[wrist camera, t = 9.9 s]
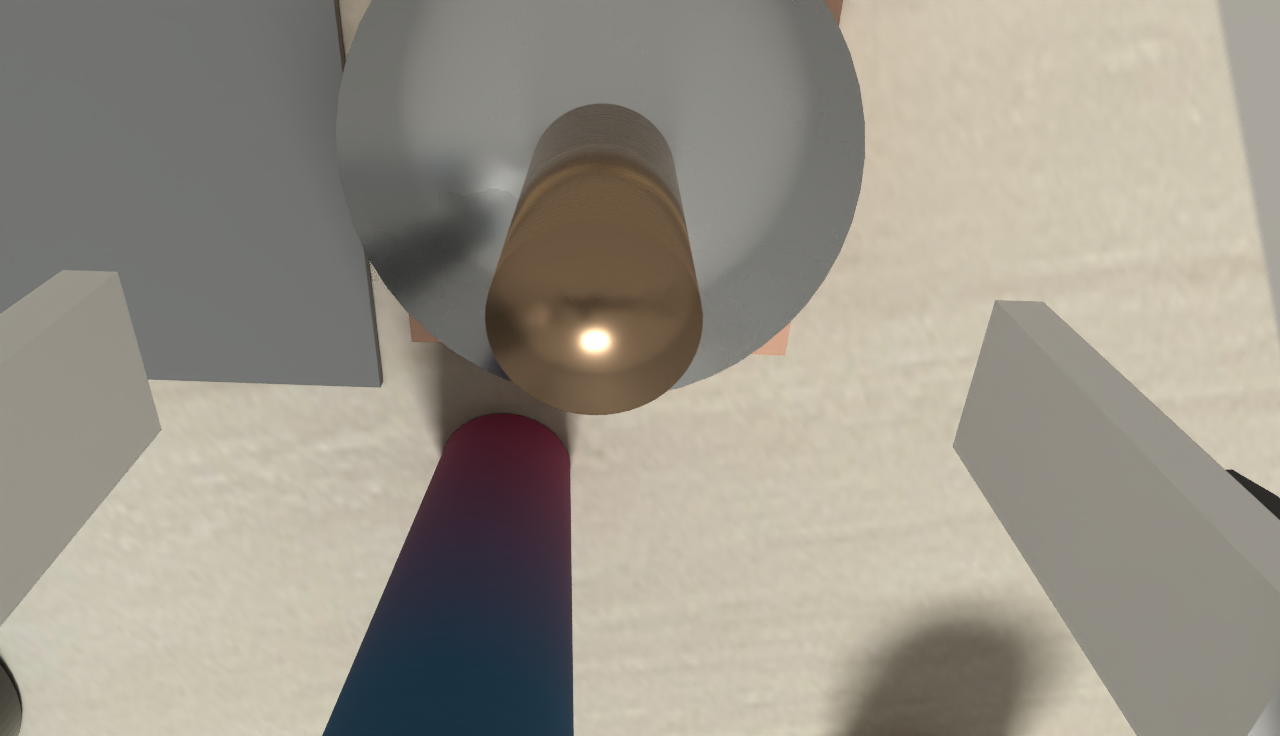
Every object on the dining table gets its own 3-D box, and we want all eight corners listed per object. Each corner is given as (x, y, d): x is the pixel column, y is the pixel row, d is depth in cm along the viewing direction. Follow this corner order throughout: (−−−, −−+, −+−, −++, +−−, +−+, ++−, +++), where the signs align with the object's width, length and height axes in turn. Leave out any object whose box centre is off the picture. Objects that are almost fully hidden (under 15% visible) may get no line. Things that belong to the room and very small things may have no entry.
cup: (420, 382, 31) (275, 745, 18) (603, 403, 31) (590, 768, 18) (418, 523, 34) (294, 913, 21) (582, 539, 35) (560, 928, 22)
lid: (377, 368, 25) (261, 598, 17) (316, -146, 18) (79, -170, 10) (809, 385, 25) (897, 614, 17) (901, -107, 19) (1109, -101, 11)
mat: (-9, 368, 30) (-16, 373, 30) (-179, -68, 23) (-191, -68, 23) (383, 381, 31) (380, 387, 30) (333, -39, 24) (329, -37, 23)
